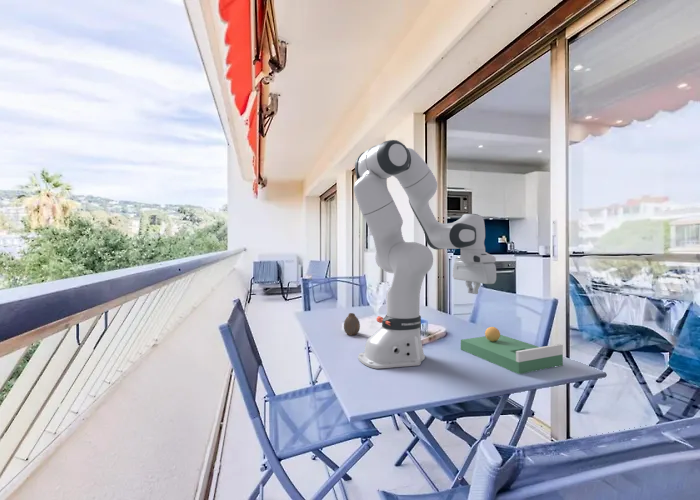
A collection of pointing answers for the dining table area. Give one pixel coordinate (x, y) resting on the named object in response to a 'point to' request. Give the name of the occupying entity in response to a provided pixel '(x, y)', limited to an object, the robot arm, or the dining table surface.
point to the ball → (492, 334)
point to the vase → (351, 324)
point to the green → (514, 353)
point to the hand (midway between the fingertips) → (473, 293)
